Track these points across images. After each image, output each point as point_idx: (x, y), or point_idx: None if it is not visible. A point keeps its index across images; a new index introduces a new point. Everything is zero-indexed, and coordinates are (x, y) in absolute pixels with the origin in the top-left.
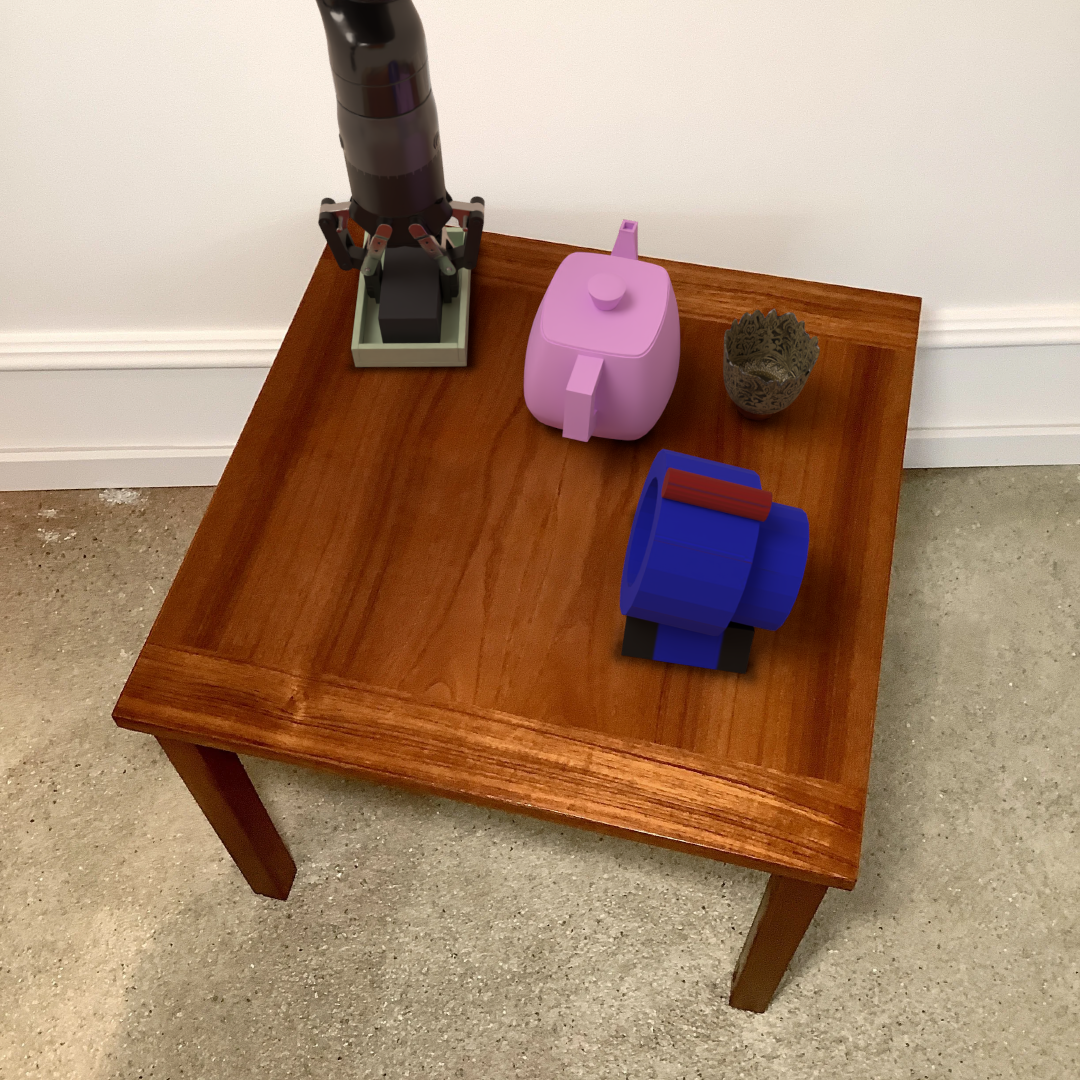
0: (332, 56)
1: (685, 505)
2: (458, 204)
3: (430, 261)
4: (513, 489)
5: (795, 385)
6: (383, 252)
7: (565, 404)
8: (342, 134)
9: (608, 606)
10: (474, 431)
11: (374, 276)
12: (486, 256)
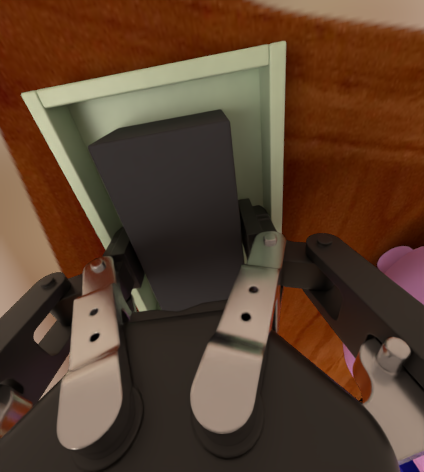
0: None
1: None
2: (411, 457)
3: (221, 230)
4: (310, 358)
5: None
6: (95, 119)
7: (417, 466)
8: None
9: (356, 390)
10: (280, 332)
11: (133, 287)
12: (299, 77)
